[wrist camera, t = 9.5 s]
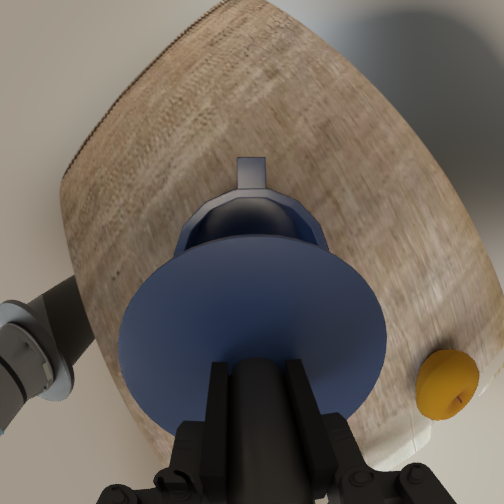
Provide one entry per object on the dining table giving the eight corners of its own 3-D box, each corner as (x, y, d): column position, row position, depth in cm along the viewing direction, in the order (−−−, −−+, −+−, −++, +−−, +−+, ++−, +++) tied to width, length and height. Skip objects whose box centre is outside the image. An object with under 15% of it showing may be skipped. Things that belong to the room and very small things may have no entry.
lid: (152, 439, 15) (127, 541, 7) (105, 235, 12) (-39, 302, 3) (352, 431, 16) (394, 525, 7) (394, 232, 13) (540, 287, 4)
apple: (407, 403, 41) (433, 440, 30) (394, 366, 39) (428, 407, 28) (456, 365, 41) (487, 395, 29) (450, 322, 38) (490, 352, 27)
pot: (196, 320, 35) (185, 361, 25) (188, 168, 31) (169, 159, 21) (301, 317, 35) (320, 356, 26) (305, 166, 31) (331, 158, 22)
